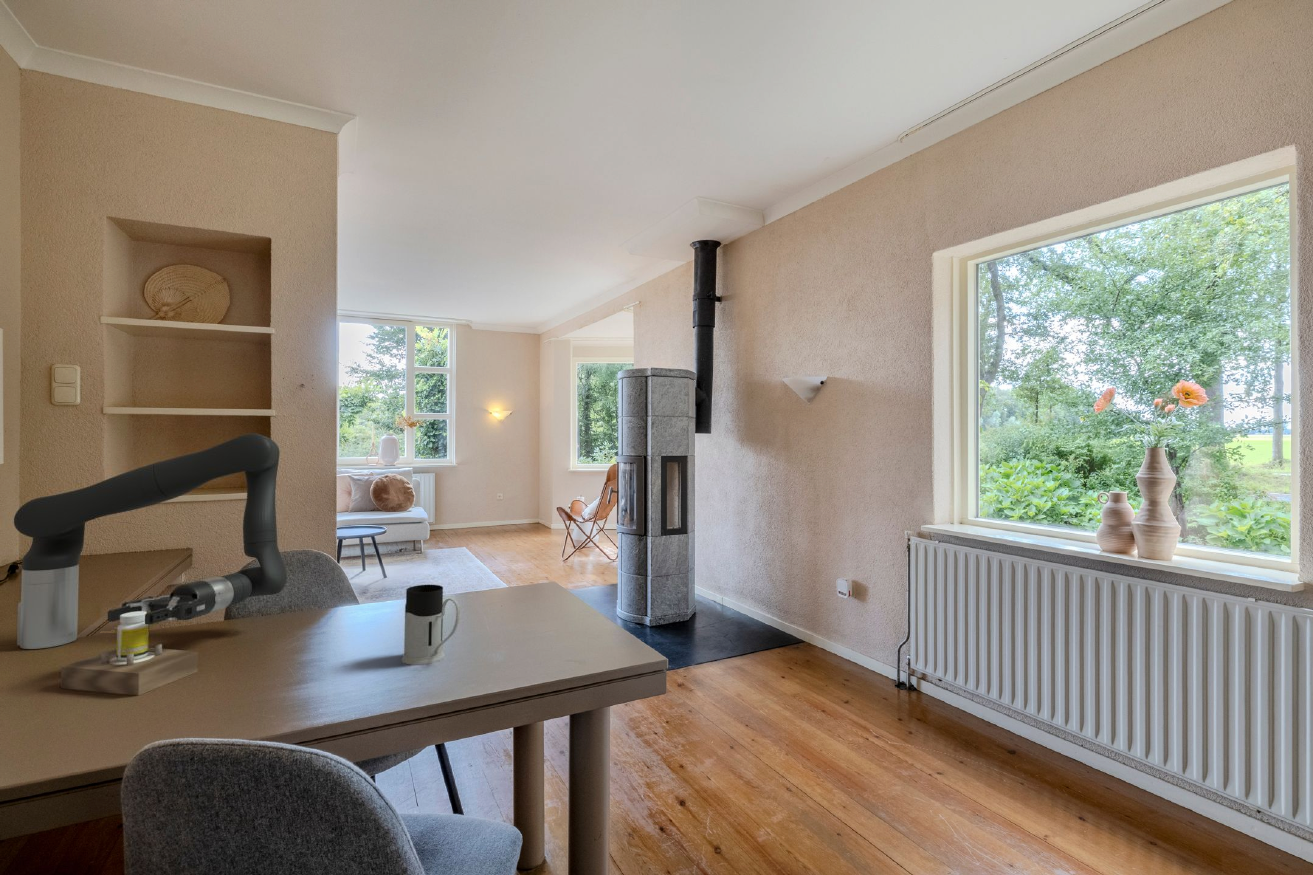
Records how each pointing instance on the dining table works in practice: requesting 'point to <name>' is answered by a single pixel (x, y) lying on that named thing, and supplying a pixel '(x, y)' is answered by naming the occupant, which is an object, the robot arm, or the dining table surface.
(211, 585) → the robot arm
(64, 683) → the seat block
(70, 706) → the dining table surface
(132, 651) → the supplement bottle
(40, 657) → the dining table surface
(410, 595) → the glass holder
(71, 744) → the dining table surface
